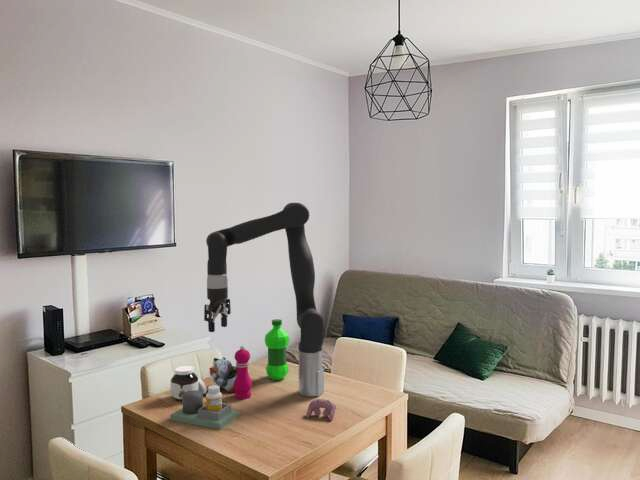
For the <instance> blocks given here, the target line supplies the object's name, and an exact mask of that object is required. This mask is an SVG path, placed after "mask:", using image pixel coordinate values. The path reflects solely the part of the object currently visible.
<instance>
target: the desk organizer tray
mask: <svg viewBox="0 0 640 480" xmlns="http://www.w3.org/2000/svg"><path fill="white" fill-rule="evenodd" d="M203 395H204V394H203V392H201V391H198V390H192V391H187V392H184V393H183V394H182V403H181V404H182V405H181V406H182V407H181V408H179V409H177V410H176V411H174V412H173V413H171V414H170V421H173V422H178V423H184V424H189V425H193V426H194V425H195V426H198V427H206V428H211V429H215V430H216V429H217V430H221V429H223V428H224V427H226V426H227V425H228V424H230V423H231V422H233V421H234V420H235V419H237V418H238V417H239V414H240V413H239V412H240V411H239V410H238V409H234V408H233V409H232V405H231V404H230V403H229V404H228V403H224V402H222V409H221V410H220V411H218V412H214V411H208V410H206V404H204V402H203V401H204V397H203Z"/></svg>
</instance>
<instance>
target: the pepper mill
mask: <svg viewBox="0 0 640 480" xmlns="http://www.w3.org/2000/svg"><path fill="white" fill-rule="evenodd" d="M245 348H246V347H245V346H244V345H240V347H239V350H237V351H236V352H235V353H234V360H235V366H237V376H236V378H235V380H234V385H233V387H234V389H235V390H236V391H235V392H234V398H236V399H238V400H246V399H249V398H251V397H252V391H251V390H252V387H253V382H252V378H251V376H250V374H249V367H250V362H249V360H250V359H251V353H250V351H249V350H248V349H245Z"/></svg>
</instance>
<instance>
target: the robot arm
mask: <svg viewBox="0 0 640 480" xmlns="http://www.w3.org/2000/svg"><path fill="white" fill-rule="evenodd" d="M309 219H310V211H309V208H308V207H307V206H306V205H305V204H303V203H300V202H289V203H287V204H285V206H284V207H283V209H282V210H281V211H278V212H276V213H274V214H271V215H267V216H264V217H263V216H262V217H259V218H256V219H251V220H248V221H245V222H241V223H239V224H235V225H233V226H231V227H227V228H222V229H219V230H216V231H213V232H210V233H209V234H208V236H207V237H206V242H205V244H206V246H207V255H208V259H207V263H206V265H207V268H206V269H207V276H206V299H207V300H209V304H204V305H203V306H204V307H203V308H204V310H203V311H204V313H203V316H204V318H203V320H204V321H205V322H207V328H208V329H207V330H208V332H210V333H214V332H216V329H215V328H216V326H215V324H216V322H215V321H216V318H217V317H218V315H220V316H221V317H220V326H221V327H222V328H225V327H226V328H227V327H228V317H229V315H231V313H232V312H231V311H232V310H231V299H230V298H229V290H228V289H229V287H228V283H229V282H228V281H229V280H228V276H227V275H228V273H227V272H228V271H227V270H228V269H227V268H228V267H227V264H228V263H227V254H228V247H230V246H233V245H240V244H243V243H246V242H249V241H252V240H255V239H257V238H260V237H263V236H266V235H268V234H271V233H273V232H274V233H275V232H277V231H281V230H285V234H286V239H287V248H288V249H287V250H288V259H289V261H288V262H289V268H290V275H291V276H290V277H291V280H292V281H291V282H292V286H293V291H294V294H295V295H294V296H295V307H296V322H297V325H298V327H299V328H300V338H299V343H298V394H299V395H301V396H303V397H313V398H314V397H319V396H321V395H322V394H323V393H324V392H325V368H324V367H323V345H324V339H325V338H324V337H325V336H324V335H325V334H324V332H325V322H324V321H325V320H324V317H323V316H322V314H321V313H319V312H318V310H317V306H316V301H315V294H314V291H315V284H316V271H315V263H314V257H313V255H312V251H311V248H310V246H309V243H308V240H307V237H306V231H305V224H307V222H308V221H309Z"/></svg>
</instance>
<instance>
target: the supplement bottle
mask: <svg viewBox="0 0 640 480" xmlns="http://www.w3.org/2000/svg"><path fill="white" fill-rule="evenodd" d="M220 389H221V387H220V386H218V385H217V384H212V385H209V386H208V387H207V391H208V392H206V393H205V394H206V395H205V400H206V401H205V405H206V410H208V411H214V412H218V411H220V410H221V409H222V403H223V394H222V392H221V391H220Z"/></svg>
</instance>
